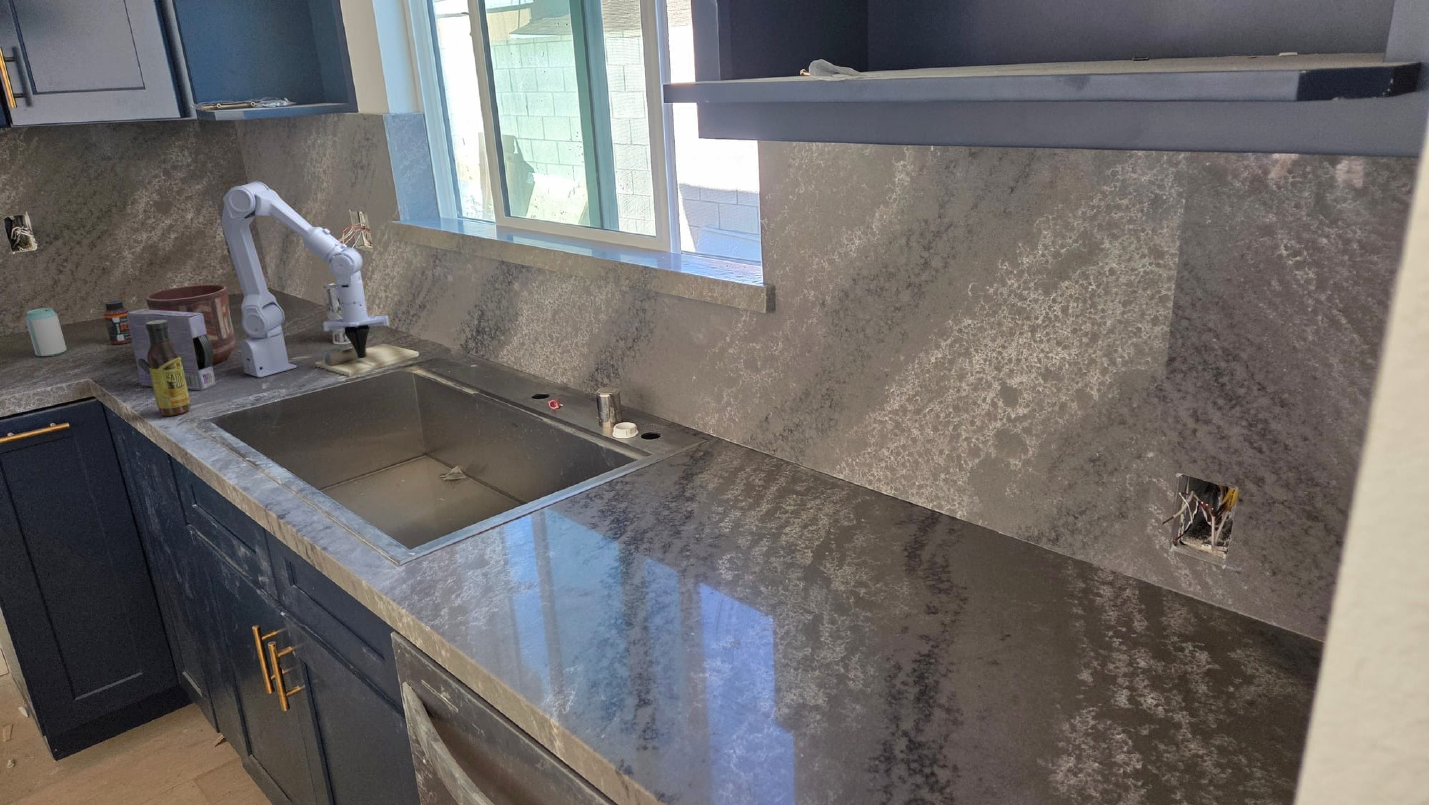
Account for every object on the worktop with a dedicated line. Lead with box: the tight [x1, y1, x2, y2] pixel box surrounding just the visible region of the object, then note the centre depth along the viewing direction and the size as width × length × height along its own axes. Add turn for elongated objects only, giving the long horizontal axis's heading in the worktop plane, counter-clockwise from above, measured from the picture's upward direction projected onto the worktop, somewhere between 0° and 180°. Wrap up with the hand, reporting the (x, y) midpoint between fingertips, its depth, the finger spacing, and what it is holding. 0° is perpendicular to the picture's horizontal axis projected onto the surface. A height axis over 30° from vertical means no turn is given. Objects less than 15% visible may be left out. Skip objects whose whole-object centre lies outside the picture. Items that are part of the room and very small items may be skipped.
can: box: [25, 307, 67, 357], centre depth 264 cm, size 7×7×12 cm
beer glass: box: [321, 282, 352, 345], centre depth 261 cm, size 7×7×15 cm
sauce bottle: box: [146, 320, 191, 417], centre depth 211 cm, size 7×6×20 cm
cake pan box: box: [127, 308, 217, 392], centre depth 230 cm, size 19×5×18 cm, turn 72°
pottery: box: [145, 284, 236, 366], centre depth 249 cm, size 18×18×18 cm
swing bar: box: [326, 345, 367, 366], centre depth 241 cm, size 10×3×3 cm, turn 140°
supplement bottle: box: [103, 300, 132, 345], centre depth 273 cm, size 6×6×11 cm
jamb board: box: [314, 343, 420, 377], centre depth 244 cm, size 19×15×4 cm
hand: (362, 356), depth 240 cm, fingers closed
